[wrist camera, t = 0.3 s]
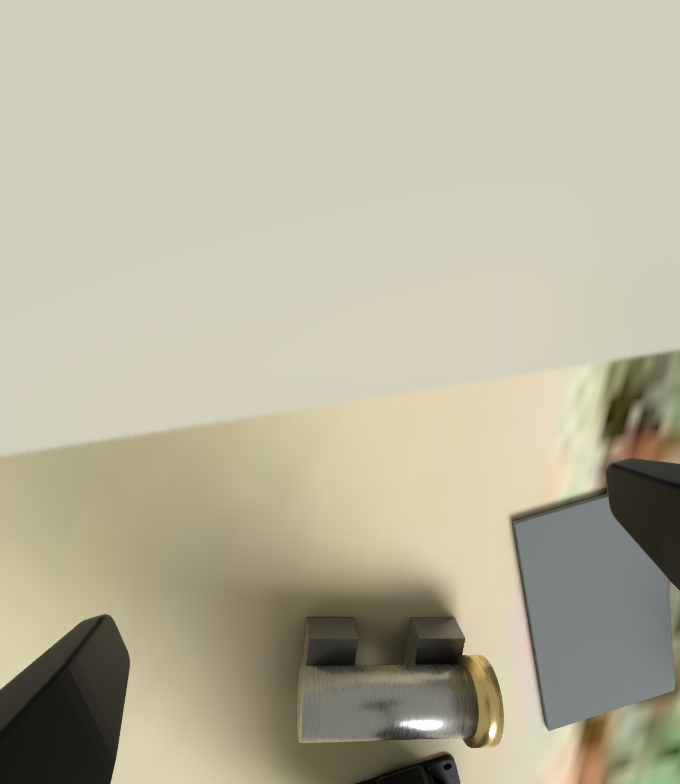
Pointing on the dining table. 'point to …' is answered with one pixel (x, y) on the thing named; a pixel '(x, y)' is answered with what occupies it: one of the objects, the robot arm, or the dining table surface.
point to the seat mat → (593, 612)
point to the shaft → (396, 688)
